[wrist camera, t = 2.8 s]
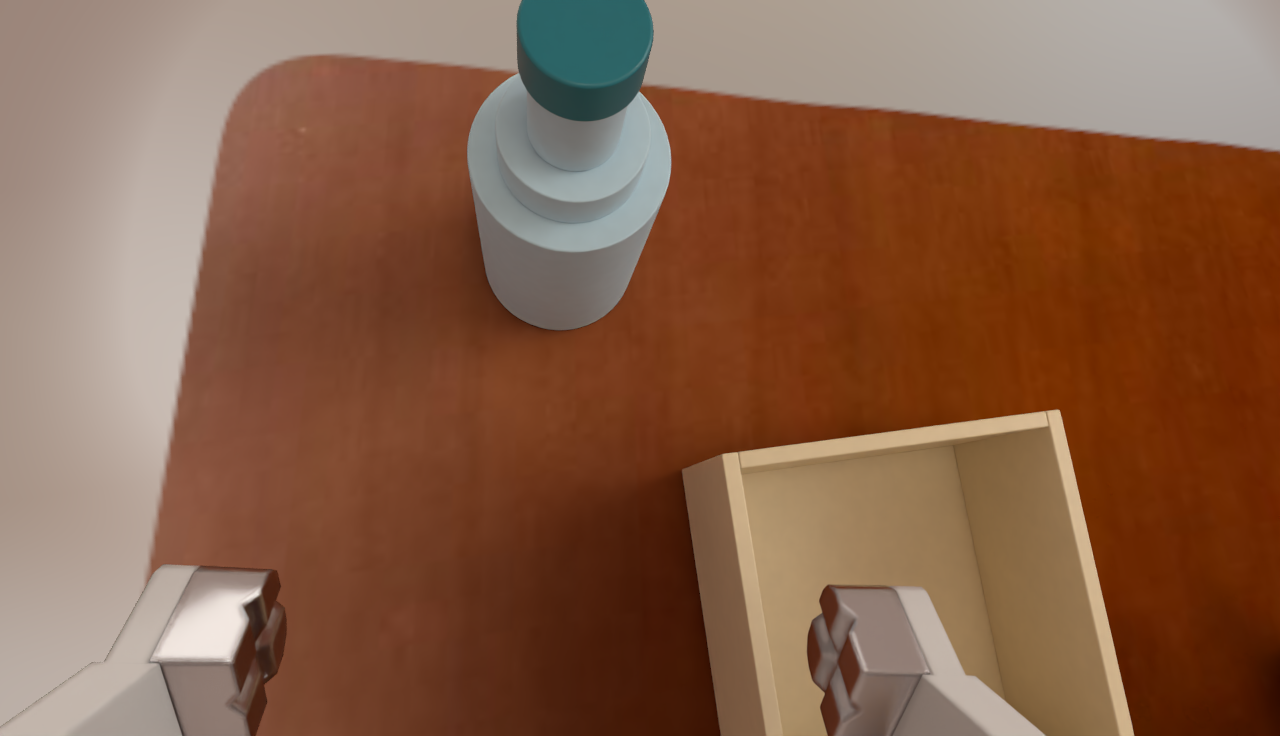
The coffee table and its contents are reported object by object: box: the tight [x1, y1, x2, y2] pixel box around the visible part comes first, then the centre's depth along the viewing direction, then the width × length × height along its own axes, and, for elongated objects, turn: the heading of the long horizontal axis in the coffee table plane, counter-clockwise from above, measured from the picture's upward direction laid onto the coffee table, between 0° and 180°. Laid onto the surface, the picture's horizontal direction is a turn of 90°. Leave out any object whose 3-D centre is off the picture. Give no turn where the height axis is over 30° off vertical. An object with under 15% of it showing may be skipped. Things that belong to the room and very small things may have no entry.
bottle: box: [467, 0, 671, 330], centre depth 24 cm, size 6×6×15 cm
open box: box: [682, 410, 1134, 736], centre depth 27 cm, size 11×11×6 cm
